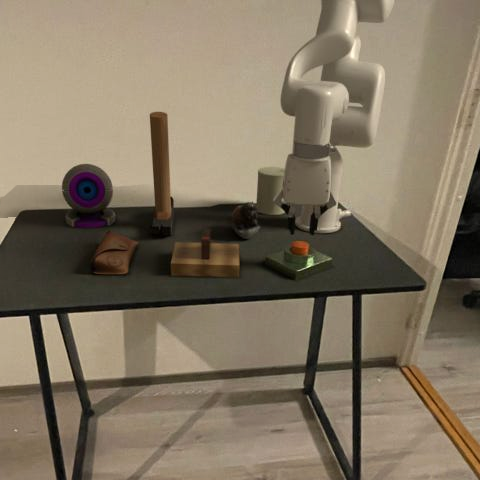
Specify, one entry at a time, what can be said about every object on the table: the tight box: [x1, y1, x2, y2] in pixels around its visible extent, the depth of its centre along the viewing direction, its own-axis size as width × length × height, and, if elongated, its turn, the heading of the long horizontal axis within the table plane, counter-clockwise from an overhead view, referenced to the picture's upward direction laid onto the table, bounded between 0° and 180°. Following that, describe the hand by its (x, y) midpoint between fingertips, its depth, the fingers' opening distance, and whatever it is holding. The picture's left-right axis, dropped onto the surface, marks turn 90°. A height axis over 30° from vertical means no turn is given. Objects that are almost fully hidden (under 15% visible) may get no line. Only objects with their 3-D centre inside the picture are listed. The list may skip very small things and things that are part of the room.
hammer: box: [149, 111, 175, 236], centre depth 134 cm, size 20×5×30 cm, turn 4°
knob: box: [201, 228, 212, 259], centre depth 121 cm, size 7×2×5 cm, turn 1°
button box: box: [264, 244, 333, 280], centre depth 124 cm, size 12×10×4 cm
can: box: [255, 166, 288, 216], centre depth 156 cm, size 9×9×12 cm
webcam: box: [61, 163, 116, 229], centre depth 142 cm, size 13×13×15 cm
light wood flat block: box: [170, 241, 240, 278], centre depth 123 cm, size 15×12×3 cm
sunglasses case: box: [89, 229, 140, 276], centre depth 124 cm, size 18×7×7 cm
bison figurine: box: [232, 201, 261, 240], centre depth 138 cm, size 12×7×10 cm, turn 12°
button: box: [291, 240, 310, 254], centre depth 123 cm, size 4×4×2 cm
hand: (301, 232), depth 121 cm, fingers open, 3 cm apart
